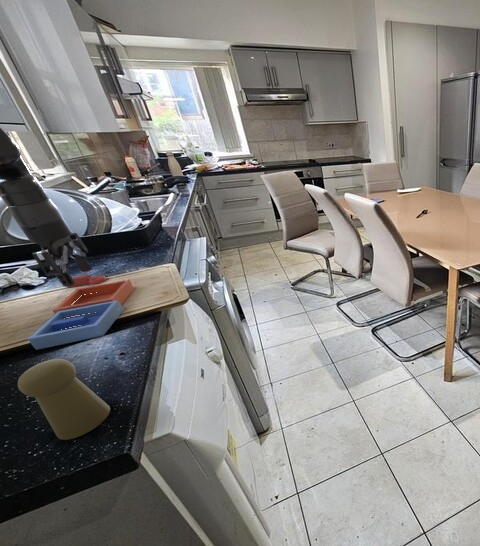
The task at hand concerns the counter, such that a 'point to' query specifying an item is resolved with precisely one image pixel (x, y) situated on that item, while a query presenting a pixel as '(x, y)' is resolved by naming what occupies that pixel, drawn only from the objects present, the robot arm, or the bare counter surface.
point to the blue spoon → (73, 322)
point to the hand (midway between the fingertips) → (79, 277)
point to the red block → (87, 280)
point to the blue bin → (51, 338)
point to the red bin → (97, 295)
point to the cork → (63, 398)
